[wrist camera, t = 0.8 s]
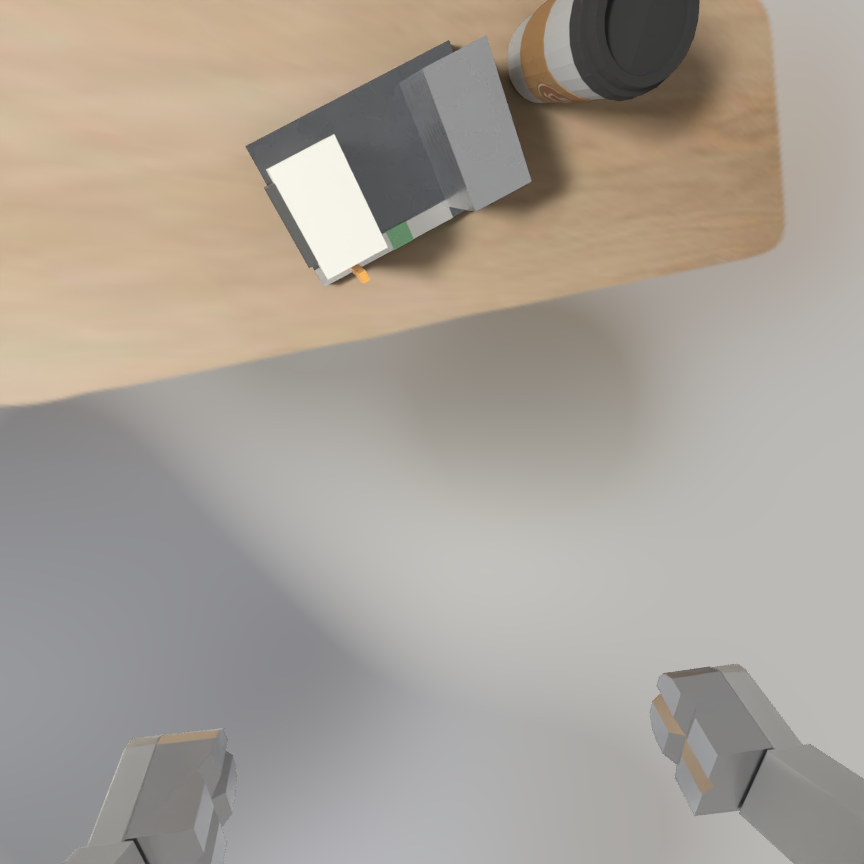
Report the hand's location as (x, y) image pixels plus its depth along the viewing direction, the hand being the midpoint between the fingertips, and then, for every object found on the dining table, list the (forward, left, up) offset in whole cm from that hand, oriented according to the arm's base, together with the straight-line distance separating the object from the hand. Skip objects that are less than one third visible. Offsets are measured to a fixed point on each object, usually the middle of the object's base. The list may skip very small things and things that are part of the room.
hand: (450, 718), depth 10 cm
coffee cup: (-25, +12, -45) cm, 53 cm away
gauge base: (-12, +3, -44) cm, 46 cm away
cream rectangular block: (-6, 0, -43) cm, 43 cm away
